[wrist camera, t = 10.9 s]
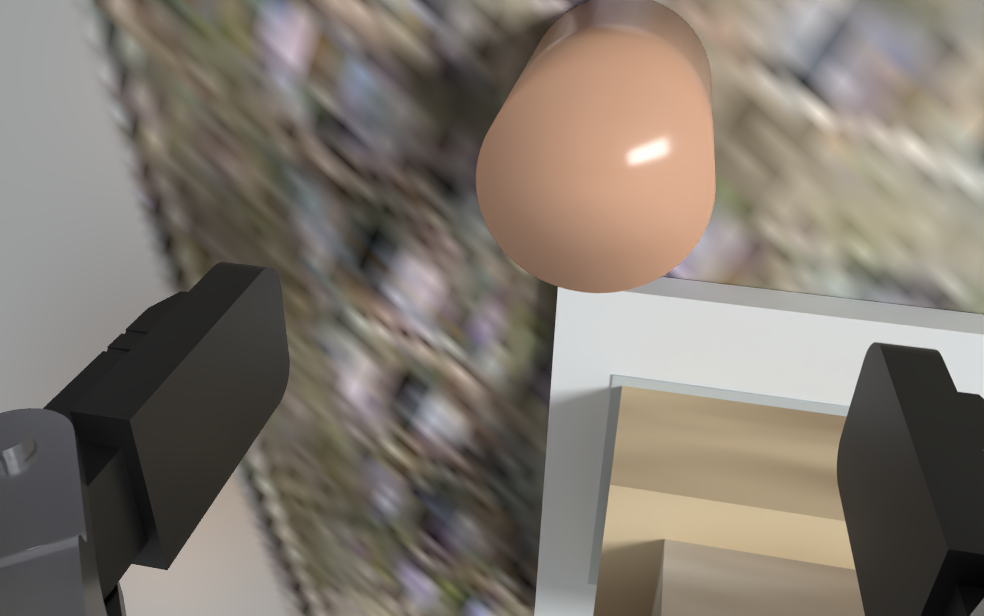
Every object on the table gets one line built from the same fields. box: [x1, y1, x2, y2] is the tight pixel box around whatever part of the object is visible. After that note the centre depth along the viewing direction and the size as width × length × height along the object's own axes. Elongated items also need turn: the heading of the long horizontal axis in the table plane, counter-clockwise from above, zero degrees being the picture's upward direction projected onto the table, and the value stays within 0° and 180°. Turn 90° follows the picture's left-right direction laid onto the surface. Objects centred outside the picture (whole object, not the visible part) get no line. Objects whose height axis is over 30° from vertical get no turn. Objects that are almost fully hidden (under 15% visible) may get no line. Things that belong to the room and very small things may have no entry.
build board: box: [534, 277, 984, 616], centre depth 26 cm, size 14×12×1 cm
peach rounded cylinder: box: [476, 0, 716, 293], centre depth 18 cm, size 4×4×6 cm
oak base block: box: [593, 386, 855, 616], centre depth 24 cm, size 8×8×4 cm
